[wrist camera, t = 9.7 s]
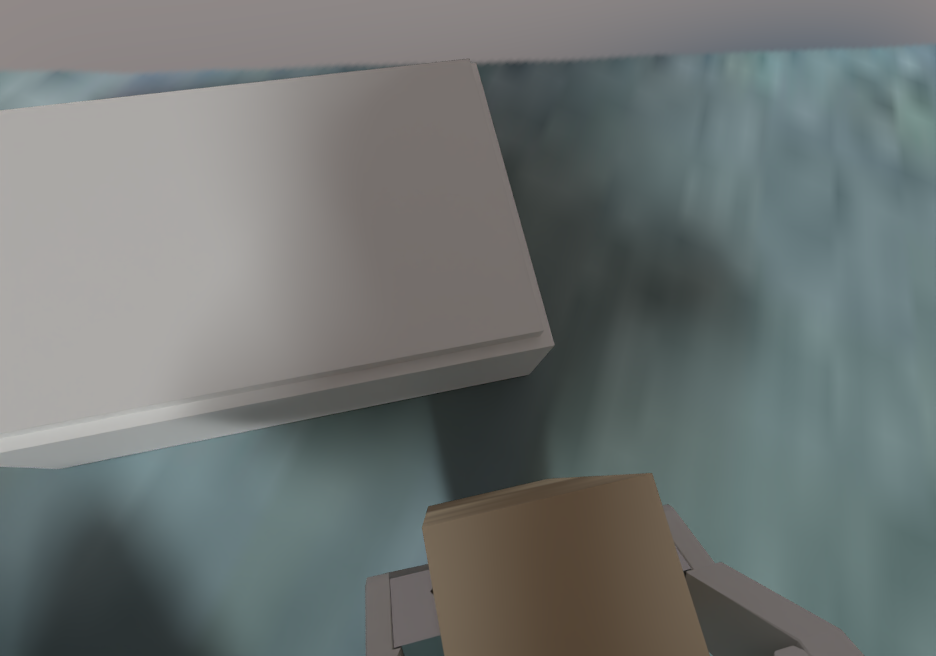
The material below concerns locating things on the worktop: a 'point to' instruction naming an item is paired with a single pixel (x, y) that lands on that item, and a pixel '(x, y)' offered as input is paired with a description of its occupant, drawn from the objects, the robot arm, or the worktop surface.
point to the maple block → (560, 572)
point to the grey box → (253, 259)
